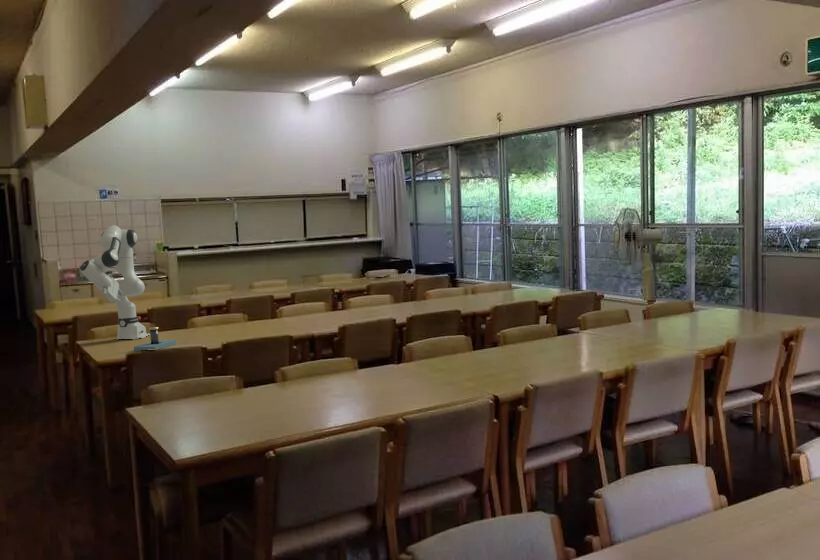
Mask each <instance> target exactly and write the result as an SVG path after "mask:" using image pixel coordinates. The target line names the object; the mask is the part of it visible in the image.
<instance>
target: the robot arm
mask: <svg viewBox="0 0 820 560" xmlns="http://www.w3.org/2000/svg"><path fill="white" fill-rule="evenodd" d="M100 235H101V236H100V239H99V245H100V247H101V248H102V249H103V250H104V252H102V253H101V254H99V255H97V256H95V257H94V258H92V259H90V260H89V259H88V260H84V262H83V263H82V264H81V266H80V268H79V269H80V272H81V273H82V275H84V277H86V278H87V280H89V282H91V283H93V285H94V286H95V287H96V288H97V289H99V290H100V291H102V293H103V296H104V297H105V298H106V299H107V300H108V301H109V302H110V303H115V305H116V309H117V316H118V318H117V324H118V325H117V335H116V336H117V337H116V338H118V339H133V340H140V339H139V338H142V339H144V338H147V337H149V336H150V332H149V333H147V328H146V326H144V325H143V324H142V323H141V322H139V320H141V318H142V317H141V316H140V315H139V316H137V308H136V307H137V306H136V304H135V303H134V302H132V301H130V299H128V297H136V296H140V295H143V294H144V291H145V289H146V285H145V283H144V281H142V280H141V279H140V278H139V277H138V275H137V274H136V272H135V266H134V264H135V263H134V250H133V248H134V246H135V245H136V244H137V243H138V242H137V241H138V234H137V232H136V230H135V229H130V228H129V229H123V228H120V227H119V226H118V225H114V224H112V225H109V226H107V227H106V229H105V230H104V231H103V232H102V233H101V234H100ZM113 267H115V271H116V272H117V273H118V274H120V275H122V277H123V279H115V278H114V277H113V275H112V274H111V273H108V274H107V273H105V272H107V271H109V270H110V269H111V268H113ZM148 335H149V336H148ZM146 336H147V337H146ZM116 338H115V339H116ZM118 339H117V340H118Z"/></svg>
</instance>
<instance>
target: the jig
mask: <svg viewBox="0 0 820 560" xmlns="http://www.w3.org/2000/svg"><path fill="white" fill-rule="evenodd" d="M176 342H177V341H176V339H159V344H151V341H148V342H145V343H142V344H141V343H140V344H139V345H136V346H133V352H142V351H141V350H148V349H157V348H163V349H165V348H168V347H172V346H173V345H174V346H175V345H176ZM164 347H165V348H164Z"/></svg>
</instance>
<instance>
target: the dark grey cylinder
mask: <svg viewBox="0 0 820 560" xmlns="http://www.w3.org/2000/svg"><path fill="white" fill-rule="evenodd" d="M159 328H160V327H159V326H151V327H148V330H149V334H150V335H149V338H150V342H151V344H159V340H160V339H159V331H158V330H159Z"/></svg>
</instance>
